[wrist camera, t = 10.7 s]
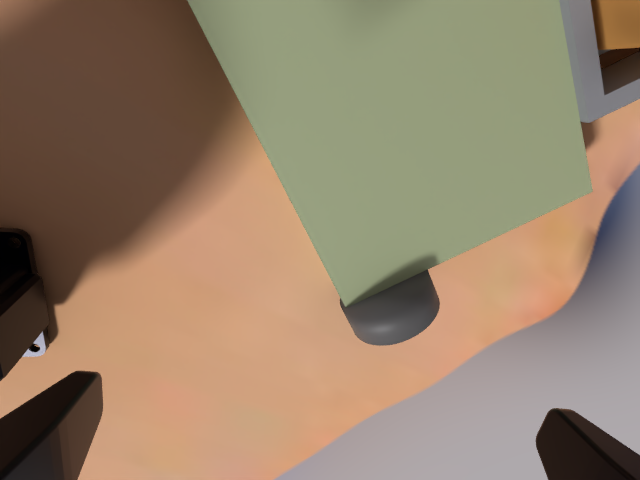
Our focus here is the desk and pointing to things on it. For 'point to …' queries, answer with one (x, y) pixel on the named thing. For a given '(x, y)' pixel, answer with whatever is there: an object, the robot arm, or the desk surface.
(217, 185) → the desk surface
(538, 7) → the green slab with frame
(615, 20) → the tan rectangular column
